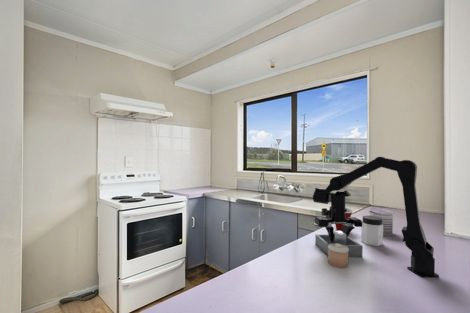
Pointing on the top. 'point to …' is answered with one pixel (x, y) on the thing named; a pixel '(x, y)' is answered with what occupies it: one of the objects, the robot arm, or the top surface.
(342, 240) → the steel block
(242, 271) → the top surface
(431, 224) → the top surface
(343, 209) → the robot arm
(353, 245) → the tote
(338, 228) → the plastic cup
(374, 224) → the jar
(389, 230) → the can
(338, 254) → the ceramic canister
